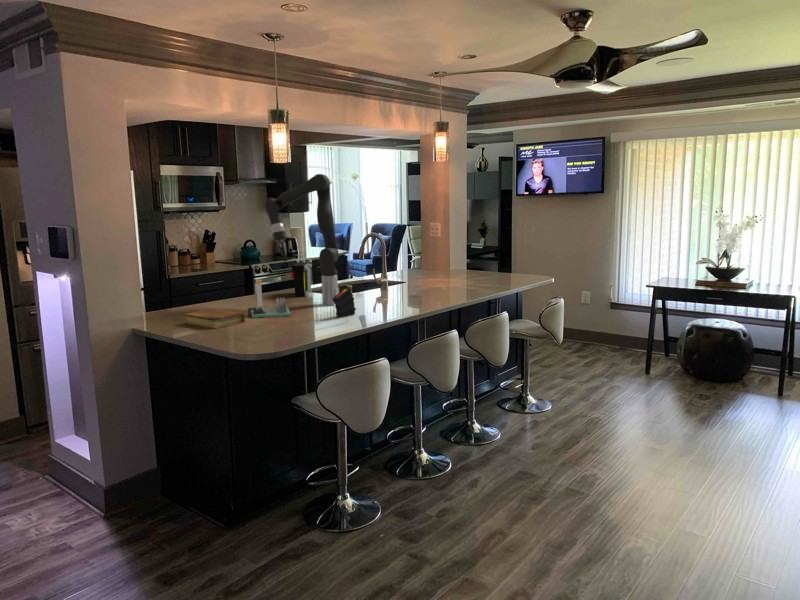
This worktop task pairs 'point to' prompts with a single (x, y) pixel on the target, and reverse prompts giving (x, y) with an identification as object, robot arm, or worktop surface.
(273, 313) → the board
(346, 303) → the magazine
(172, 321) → the worktop surface
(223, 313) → the diary
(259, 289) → the clip lever
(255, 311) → the heatsink
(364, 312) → the worktop surface
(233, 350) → the worktop surface
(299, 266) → the electrical component
